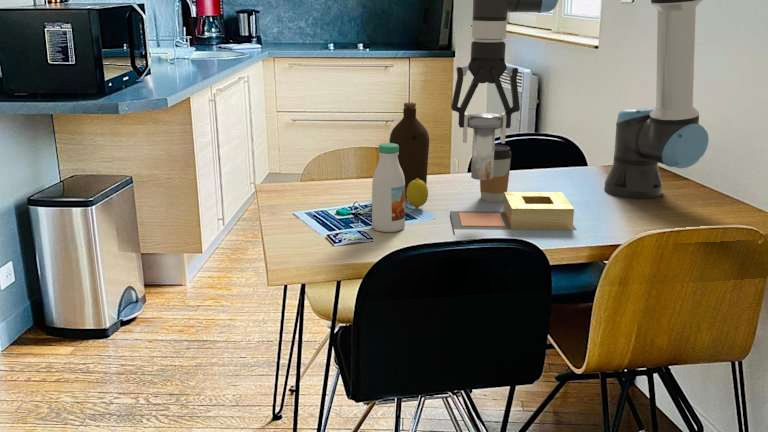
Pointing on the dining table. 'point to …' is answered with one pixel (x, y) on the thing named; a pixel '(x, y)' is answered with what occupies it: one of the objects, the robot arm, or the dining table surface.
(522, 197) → the light wooden flat block
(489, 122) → the steel peg
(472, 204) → the dining table surface
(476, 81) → the robot arm
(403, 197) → the milk bottle
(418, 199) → the lemon
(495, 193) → the coffee cup
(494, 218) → the base mat
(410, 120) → the olive oil
